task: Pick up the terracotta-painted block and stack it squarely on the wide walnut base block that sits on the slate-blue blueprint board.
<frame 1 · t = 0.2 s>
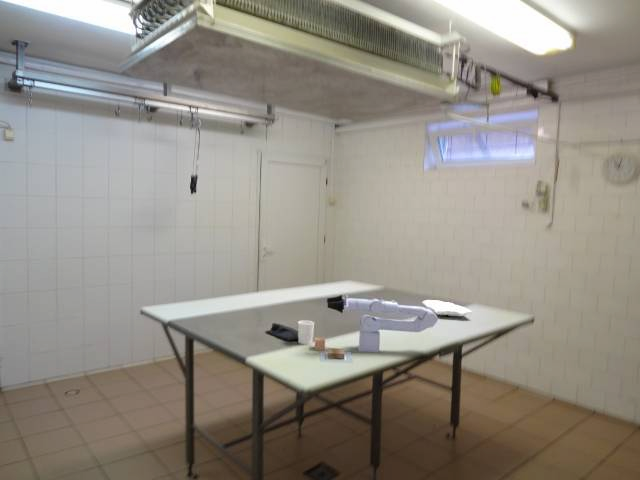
hand: (327, 302, 215), 21 cm above the table, tool horizontal, fingers open, 7 cm apart
top block: (319, 349, 215), on the table
dark slate chunk: (287, 336, 235), on the table
white cup: (305, 343, 224), on the table
blueprint board: (335, 357, 204), on the table
crumpled cloth: (444, 315, 294), on the table
base block: (335, 356, 204), resting on blueprint board
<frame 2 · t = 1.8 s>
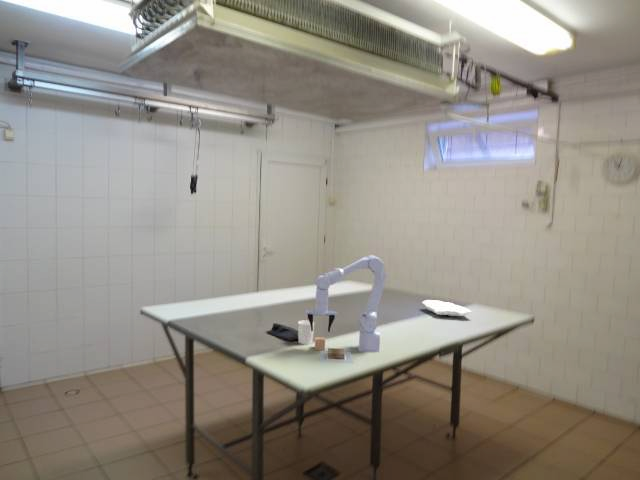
hand: (320, 331, 214), 9 cm above the table, tool pointing down, fingers open, 7 cm apart
nothing on the table moved.
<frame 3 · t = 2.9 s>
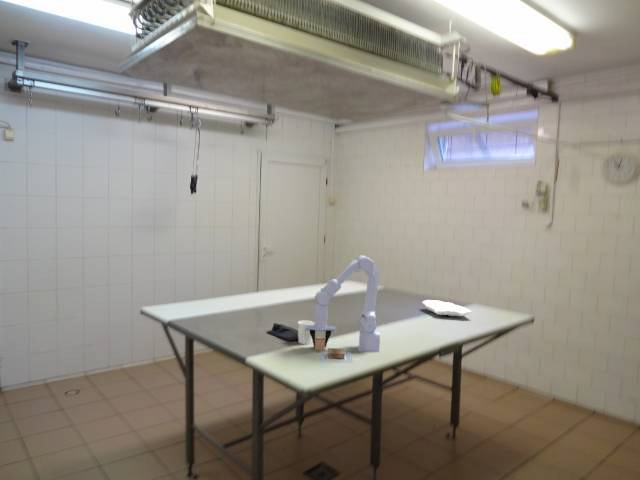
hand: (319, 346, 215), 1 cm above the table, tool pointing down, fingers closed on top block, 4 cm apart
top block: (319, 349, 215), on the table, touching gripper
everything else where it was.
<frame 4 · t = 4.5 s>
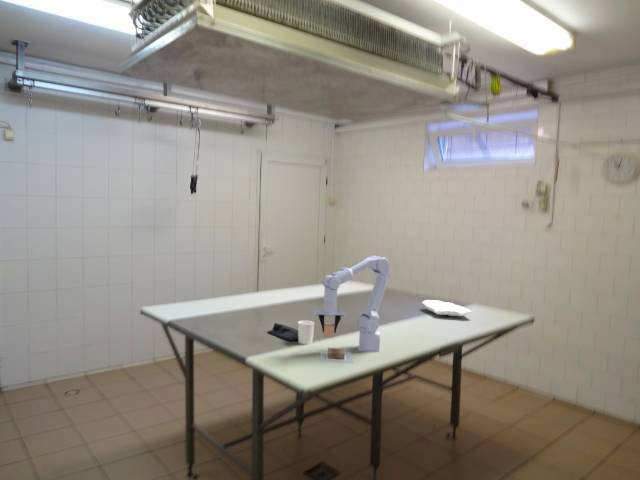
hand: (329, 331, 209), 10 cm above the table, tool pointing down, fingers closed on top block, 4 cm apart
top block: (328, 335, 209), point 8 cm above the table, touching gripper
everything else where it was.
when the fingers open (5 cm above the table, at t = 6.1 s): top block stays where it is, resting on base block.
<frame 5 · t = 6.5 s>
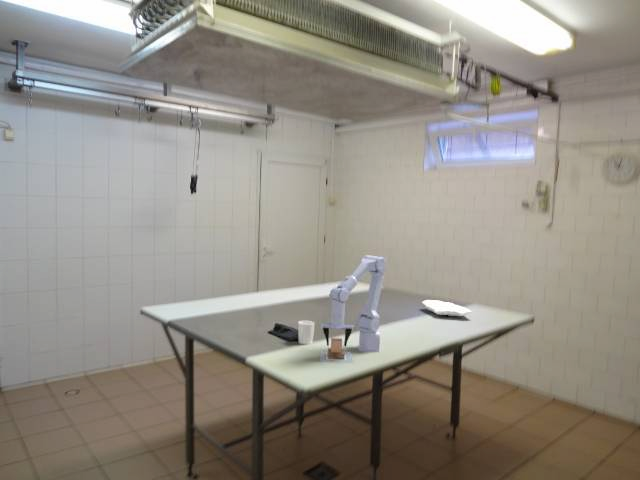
hand: (336, 345, 204), 5 cm above the table, tool pointing down, fingers open, 7 cm apart
top block: (336, 350, 204), point 3 cm above the table, touching base block
base block: (335, 356, 204), resting on blueprint board, touching top block
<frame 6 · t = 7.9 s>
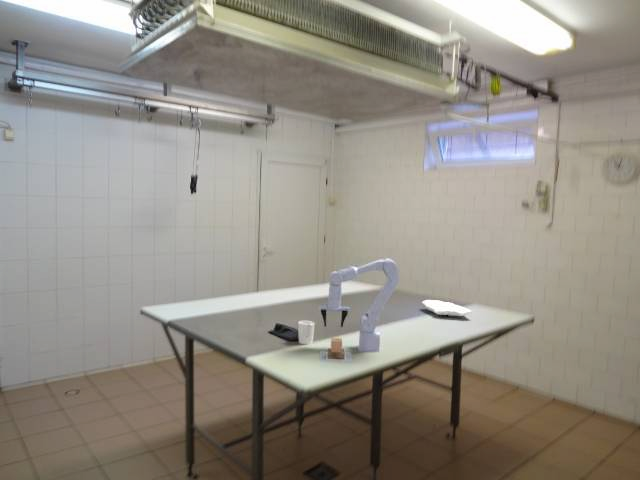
hand: (333, 326, 216), 10 cm above the table, tool pointing down, fingers open, 7 cm apart
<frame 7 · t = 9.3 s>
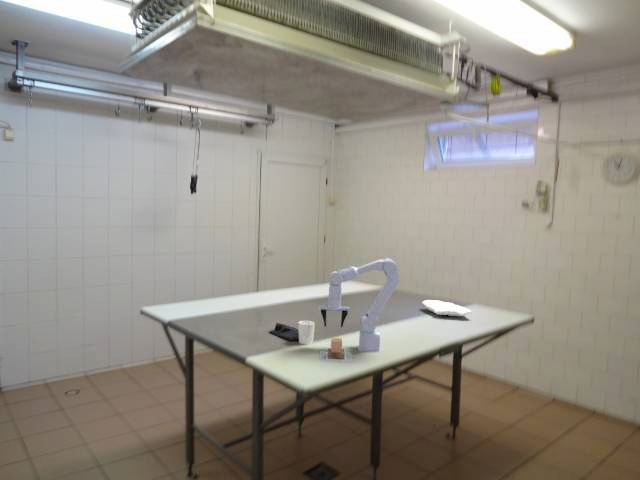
hand: (333, 326, 216), 10 cm above the table, tool pointing down, fingers open, 7 cm apart
at the end: top block 0.1 cm off-centre on the base block, point 2.5 cm above the base block's base; top block tilted 0°; base block moved 0.1 cm from its start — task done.
